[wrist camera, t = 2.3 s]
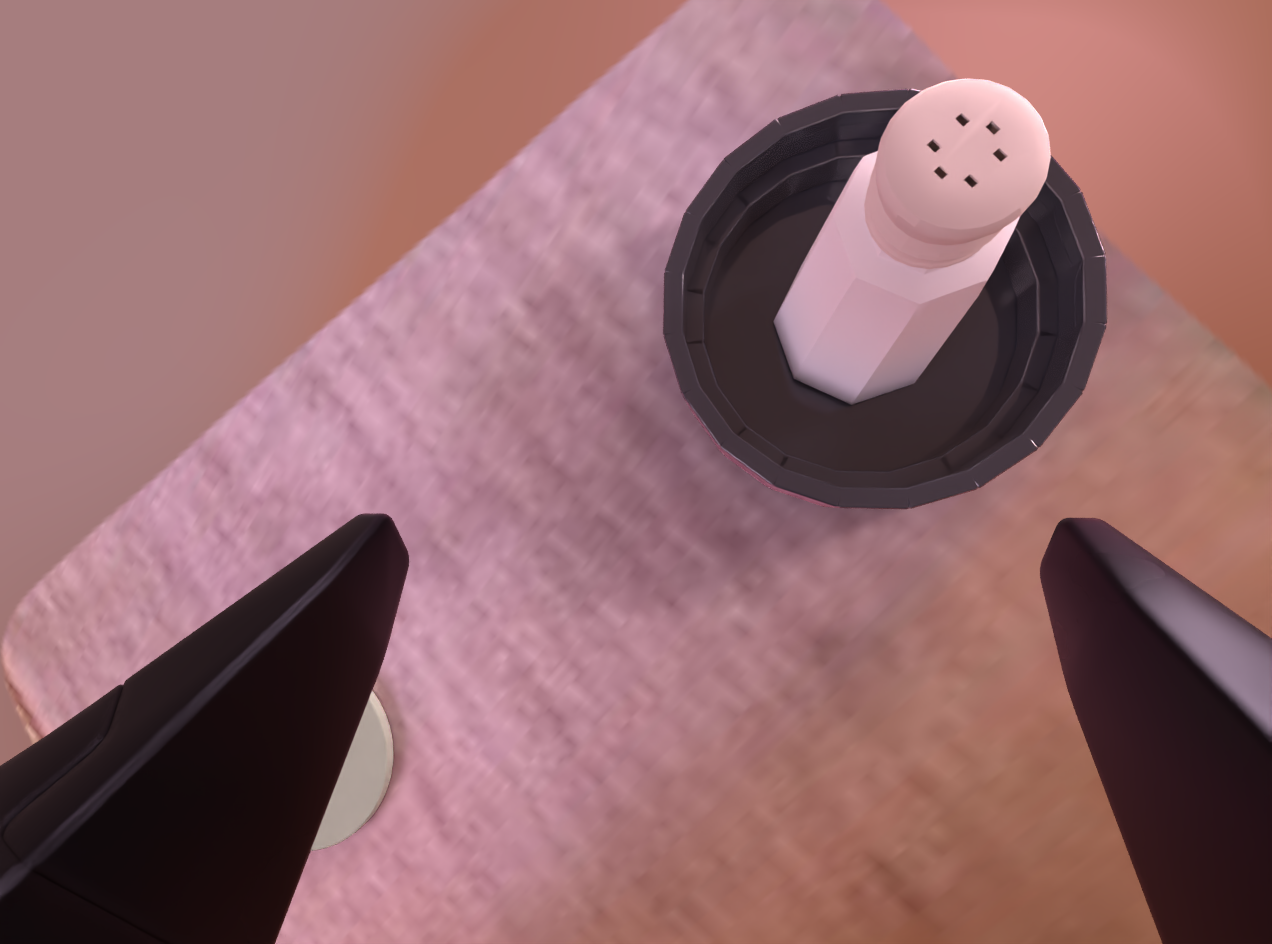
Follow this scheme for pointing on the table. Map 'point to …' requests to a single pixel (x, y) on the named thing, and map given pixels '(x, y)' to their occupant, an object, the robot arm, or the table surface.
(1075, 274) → the pan
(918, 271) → the pepper shaker
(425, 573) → the table surface
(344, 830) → the coaster
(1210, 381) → the table surface
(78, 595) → the table surface
